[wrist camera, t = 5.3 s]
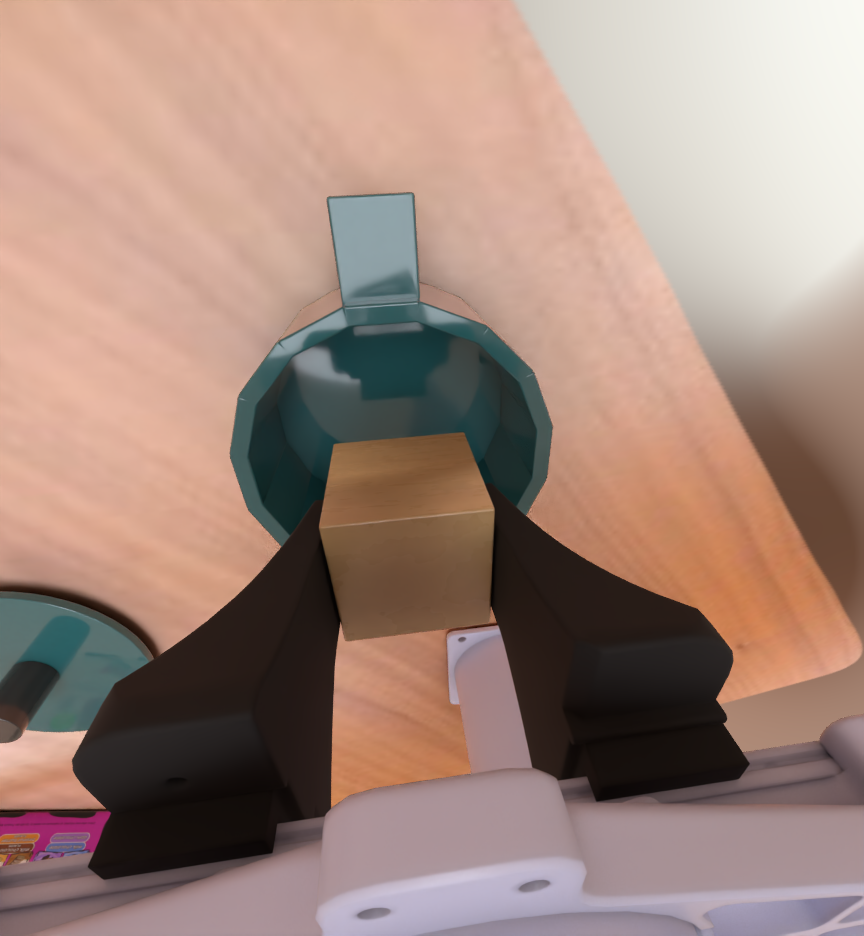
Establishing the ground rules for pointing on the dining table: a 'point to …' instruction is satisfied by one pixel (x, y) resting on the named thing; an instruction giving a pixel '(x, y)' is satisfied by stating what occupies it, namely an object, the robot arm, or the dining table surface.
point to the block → (408, 536)
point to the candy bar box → (48, 834)
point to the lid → (59, 663)
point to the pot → (383, 375)
